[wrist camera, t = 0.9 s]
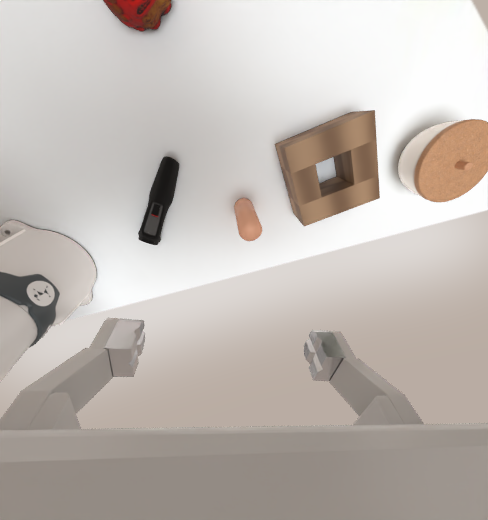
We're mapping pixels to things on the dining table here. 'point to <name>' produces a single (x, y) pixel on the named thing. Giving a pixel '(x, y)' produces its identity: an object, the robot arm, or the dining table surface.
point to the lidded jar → (445, 160)
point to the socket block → (346, 163)
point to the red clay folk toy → (139, 12)
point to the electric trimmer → (159, 201)
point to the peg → (247, 220)
